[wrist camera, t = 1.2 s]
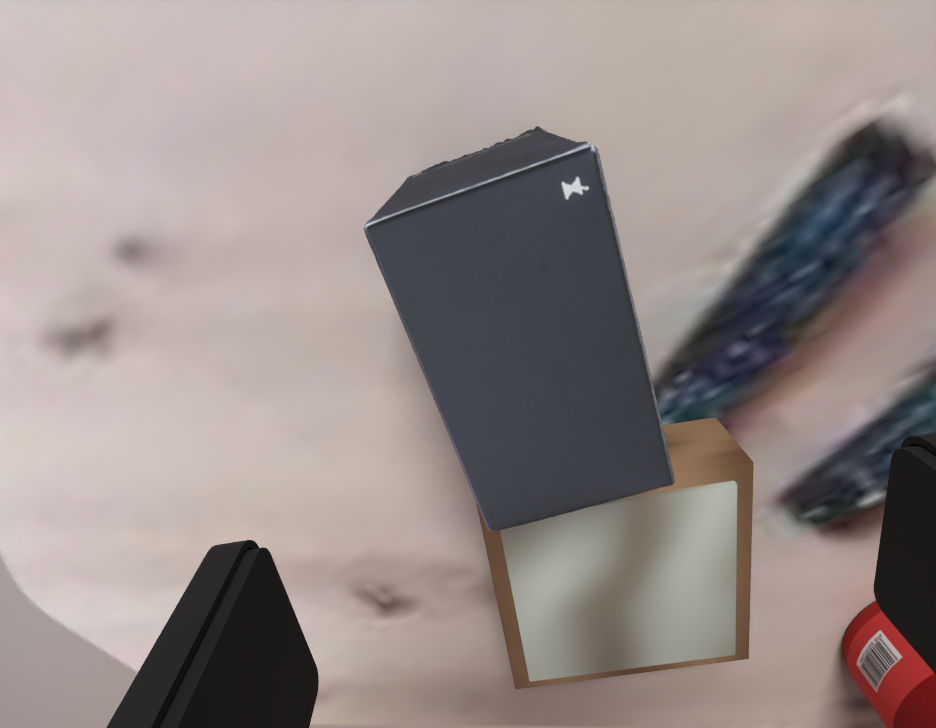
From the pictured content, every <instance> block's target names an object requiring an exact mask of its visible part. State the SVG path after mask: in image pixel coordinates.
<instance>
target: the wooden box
mask: <svg viewBox="0 0 936 728" xmlns="http://www.w3.org/2000/svg"><path fill="white" fill-rule="evenodd" d="M663 430H664V434H665V439H666V443H667V448H668V452H669V456H670V461H671V465H672V470H673V474H674V478H675V482H674V484H673V485H671V486H666V487H662V488H658V489H655V490H651V491H647V492H643V493H640V494H636V495H633V496H629V497H625V498H622V499H618V500H614V501H610V502H607V503H603V504H599V505H595V506H591V507H587V508H584V509H581V510H577V511H574V512H570V513H565V514H562V515H558V516H555V517H550V518H546V519H543V520H540V521H536V522H531V523H528V524H524V525H520V526H516V527H512V528H508V529H503V530H498V531H489V530H488V529H487V526H486V524H485V522H484V519H483V517H482V514H481V512H480V510H479V507H478V505H477V507H478V512H479V517H480V521H481V526H482V531H483V536H484V540H485V545H486V550H487V555H488V559H489V564H490V569H491V573H492V578H493V583H494V588H495V592H496V597H497V602H498V607H499V611H500V616H501V621H502V626H503V630H504V635H505V640H506V645H507V649H508V654H509V659H510V664H511V668H512V673H513V678H514V683H515V687H516V689H520V688H528V687H535V686H543V685H551V684H558V683H566V682H574V681H581V680H589V679H597V678H604V677H612V676H620V675H628V674H635V673H643V672H651V671H658V670H666V669H674V668H681V667H689V666H697V665H704V664H712V663H720V662H727V661H735V660H743V659H749V621H750V580H751V539H752V497H753V461H752V460H751V459H750V458H749V457H748V455H747V454H746V453H745V452H744V451H743V449H742V448H741V447H740V446H739V445H738V444H737V442H736V441H735V440H734V439H733V438H732V436H731V435H730V434H729V433H728V432H727V430H726V429H725V428H724V427H723V426H722V425H721V423H720V422H719V421H718V420H717V419H716V417H713V418H707V419H701V420H694V421H688V422H682V423H675V424H669V425H663Z"/></svg>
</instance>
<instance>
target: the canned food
mask: <svg viewBox="0 0 936 728" xmlns="http://www.w3.org/2000/svg"><path fill="white" fill-rule="evenodd" d="M843 654H844V657H845V660H846V663H847V666H848V668H849V671H850V673H851V675H852V677H853V678H854V680H855V681H856V683H857V684H858V685H859V687H860V688H861V690H862V691H863V693H864V694H865V696H866V697H867V698H868V700H869V701H870V703H871V704H872V706H873V707H874V709H875V710H876V711H877V713H878V714H879V716H880V717H881V719H882V720H883V722H884V723H885V724H886V726H887V727H888V728H936V674H935V673H934V672H933V671H932V670H931V669H930V667H929V666H928V665H927V664H926V663H925V662H924V660H923V659H922V658H921V657H920V656H919V655H918V653H917V652H916V651H915V650H914V649H913V647H912V646H911V645H910V644H909V643H908V642H907V640H906V639H905V638H904V637H903V636H902V635H901V633H900V632H899V631H898V630H897V629H896V628H895V626H894V625H893V624H892V623H891V622H890V621H889V619H888V618H887V617H886V616H885V615H884V613H883V612H882V611H881V609H880V607H879V605H878V603H877V601H875V602H873V603H872V604H871V605H869V606H868V607H867V608H865V609H864V610H863V611H862V612H861V613H860V614H859V615H858V616H857V617H856V618H855V619H854V620H853V622H852V623H851V625H850V626H849V628H848V630H847V632H846V634H845V636H844V642H843Z"/></svg>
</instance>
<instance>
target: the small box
mask: <svg viewBox="0 0 936 728" xmlns="http://www.w3.org/2000/svg"><path fill="white" fill-rule="evenodd" d="M364 231H365V234H366V237H367V239H368V242H369V244H370V246H371V249H372V251H373V253H374V255H375V258H376V261H377V263H378V266H379V268H380V270H381V273H382V275H383V277H384V280H385V282H386V284H387V287H388V289H389V292H390V294H391V296H392V299H393V301H394V304H395V306H396V308H397V311H398V313H399V316H400V318H401V320H402V323H403V325H404V328H405V330H406V332H407V335H408V337H409V340H410V342H411V344H412V347H413V349H414V351H415V354H416V356H417V359H418V361H419V363H420V366H421V368H422V371H423V373H424V375H425V378H426V380H427V383H428V385H429V387H430V390H431V392H432V395H433V397H434V400H435V402H436V404H437V407H438V409H439V412H440V414H441V417H442V419H443V421H444V424H445V426H446V429H447V431H448V434H449V436H450V438H451V441H452V443H453V446H454V448H455V451H456V453H457V455H458V458H459V460H460V463H461V465H462V468H463V470H464V473H465V475H466V477H467V480H468V482H469V485H470V487H471V490H472V492H473V495H474V497H475V500H476V502H477V505H478V507H479V510H480V512H481V514H482V517H483V519H484V522H485V524H486V526H487V529H488V530H489V531H498V530H503V529H508V528H512V527H516V526H520V525H524V524H528V523H531V522H536V521H540V520H543V519H546V518H550V517H555V516H558V515H562V514H565V513H570V512H574V511H577V510H581V509H584V508H587V507H591V506H595V505H599V504H603V503H607V502H610V501H614V500H618V499H622V498H625V497H629V496H633V495H636V494H640V493H643V492H647V491H651V490H655V489H658V488H662V487H666V486H671V485H673V484H674V482H675V478H674V474H673V470H672V465H671V461H670V456H669V452H668V448H667V443H666V439H665V434H664V430H663V425H662V421H661V417H660V413H659V409H658V406H657V400H656V396H655V392H654V387H653V383H652V378H651V374H650V370H649V366H648V361H647V356H646V352H645V347H644V343H643V339H642V335H641V331H640V326H639V322H638V319H637V315H636V310H635V305H634V302H633V298H632V294H631V290H630V286H629V281H628V276H627V272H626V267H625V263H624V260H623V256H622V251H621V246H620V241H619V237H618V233H617V228H616V224H615V220H614V216H613V212H612V208H611V204H610V198H609V196H608V193H607V186H606V183H605V179H604V175H603V170H602V166H601V161H600V156H599V153H598V150H597V148H596V147H595V146H593V145H591V144H590V143H588V142H576V141H571V140H570V139H566V138H563V137H559V136H557V135H554V134H551V133H548V132H547V131H545V130H543V129H541V128H540V127H538V126H537V127H536V128H535V129H534V130H528V131H526V132H525V133H523V134H521V135H520V136H518V137H516V138H514V139H506V140H505V141H504V142H499V143H496V144H495V145H494V146H491V147H490V148H484V149H483V150H481V151H477V152H475V153H472V154H469V155H464V156H463V157H460V158H458V159H455V160H452V161H450V162H447V161H444V162H442V163H440V164H436V165H434V166H433V167H429V168H428V169H426V170H424V171H422V172H420V173H418V174H416V175H413V176H410V177H408V178H407V179H406V181H405V182H404V183H403V185H402V186H401V187H400V188H399V189H398V190H397V191H396V192H395V194H394V195H393V196H392V197H391V198H390V199H389V200H388V201H387V202H386V203H385V204H384V205H383V206H382V207H381V208H380V210H379V211H378V212H377V213H376V214H375V216H374V217H373V218H372V219H370V220H369V221H368V222H367V223H366V224H365V226H364Z"/></svg>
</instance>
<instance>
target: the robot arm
mask: <svg viewBox="0 0 936 728" xmlns="http://www.w3.org/2000/svg"><path fill="white" fill-rule="evenodd" d="M874 594H875V598H876V601H877V603H878V605H879V607H880V609H881V611H882V612H883V613H884V615H885V616H886V617H887V618H888V619H889V621H890V622H891V623H892V624H893V625H894V626H895V628H896V629H897V630H898V631H899V632H900V633H901V635H902V636H903V637H904V638H905V639H906V640H907V642H908V643H909V644H910V645H911V646H912V647H913V649H914V650H915V651H916V652H917V653H918V655H919V656H920V657H921V658H922V659H923V660H924V662H925V663H926V664H927V665H928V666H929V667H930V669H931V670H932V671H933V672H934V673H935V674H936V432H935V433H928V434H922V435H916V436H911V437H908V438H906V439H905V440H904V442H903V443H902V446H901V448H900V449H897V450H895V452H894V453H893V455H892V459H891V466H890V473H889V480H888V488H887V495H886V502H885V509H884V516H883V524H882V531H881V538H880V545H879V552H878V560H877V567H876V574H875V581H874ZM317 692H318V671H317V667H316V664H315V662H314V659H313V657H312V654H311V652H310V649H309V647H308V644H307V642H306V640H305V637H304V635H303V632H302V630H301V627H300V625H299V622H298V620H297V617H296V615H295V613H294V610H293V608H292V605H291V603H290V600H289V598H288V595H287V593H286V590H285V588H284V586H283V583H282V581H281V578H280V576H279V573H278V571H277V568H276V566H275V563H274V561H273V558H272V556H271V554H270V552H269V550H268V549H266V548H259V547H258V545H257V544H256V543H255V542H254V541H252V540H246V541H240V542H233V543H227V544H220V545H215V546H213V547H211V549H210V550H209V551H208V552H207V554H206V556H205V558H204V559H203V561H202V563H201V565H200V566H199V568H198V570H197V571H196V573H195V575H194V577H193V578H192V580H191V582H190V584H189V585H188V587H187V589H186V591H185V592H184V594H183V596H182V598H181V599H180V601H179V603H178V604H177V606H176V608H175V610H174V611H173V613H172V615H171V617H170V618H169V620H168V622H167V624H166V625H165V627H164V629H163V630H162V632H161V634H160V636H159V637H158V639H157V641H156V643H155V644H154V646H153V648H152V650H151V651H150V653H149V655H148V657H147V658H146V660H145V662H144V663H143V665H142V667H141V669H140V670H139V672H138V674H137V676H136V677H135V679H134V681H133V683H132V684H131V686H130V688H129V690H128V691H127V693H126V695H125V696H124V698H123V700H122V702H121V704H120V705H119V707H118V709H117V710H116V712H115V714H114V716H113V717H112V719H111V721H110V723H109V724H108V726H107V728H309V726H310V721H311V717H312V713H313V709H314V705H315V701H316V697H317Z"/></svg>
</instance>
